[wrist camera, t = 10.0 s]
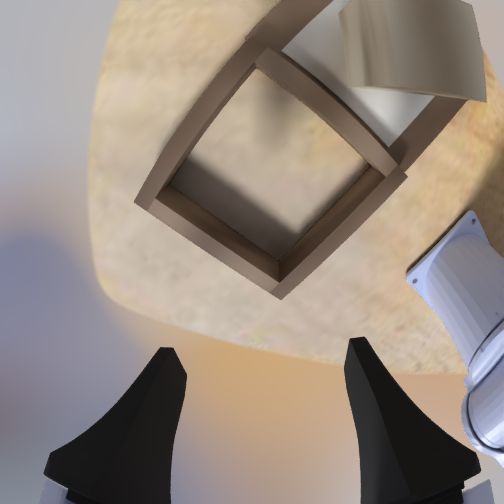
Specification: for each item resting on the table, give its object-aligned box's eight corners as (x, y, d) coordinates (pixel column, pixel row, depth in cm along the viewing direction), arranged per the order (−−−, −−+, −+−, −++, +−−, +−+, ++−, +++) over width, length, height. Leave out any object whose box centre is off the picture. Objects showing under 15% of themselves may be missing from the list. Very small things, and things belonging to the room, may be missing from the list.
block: (411, 24, 9) (471, 5, 4) (420, 94, 12) (486, 102, 7) (338, 13, 10) (376, -26, 5) (348, 88, 12) (396, 84, 7)
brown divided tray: (471, 82, 11) (494, 84, 9) (284, 281, 20) (286, 303, 18) (344, -46, 8) (355, -62, 6) (143, 184, 17) (126, 197, 15)
